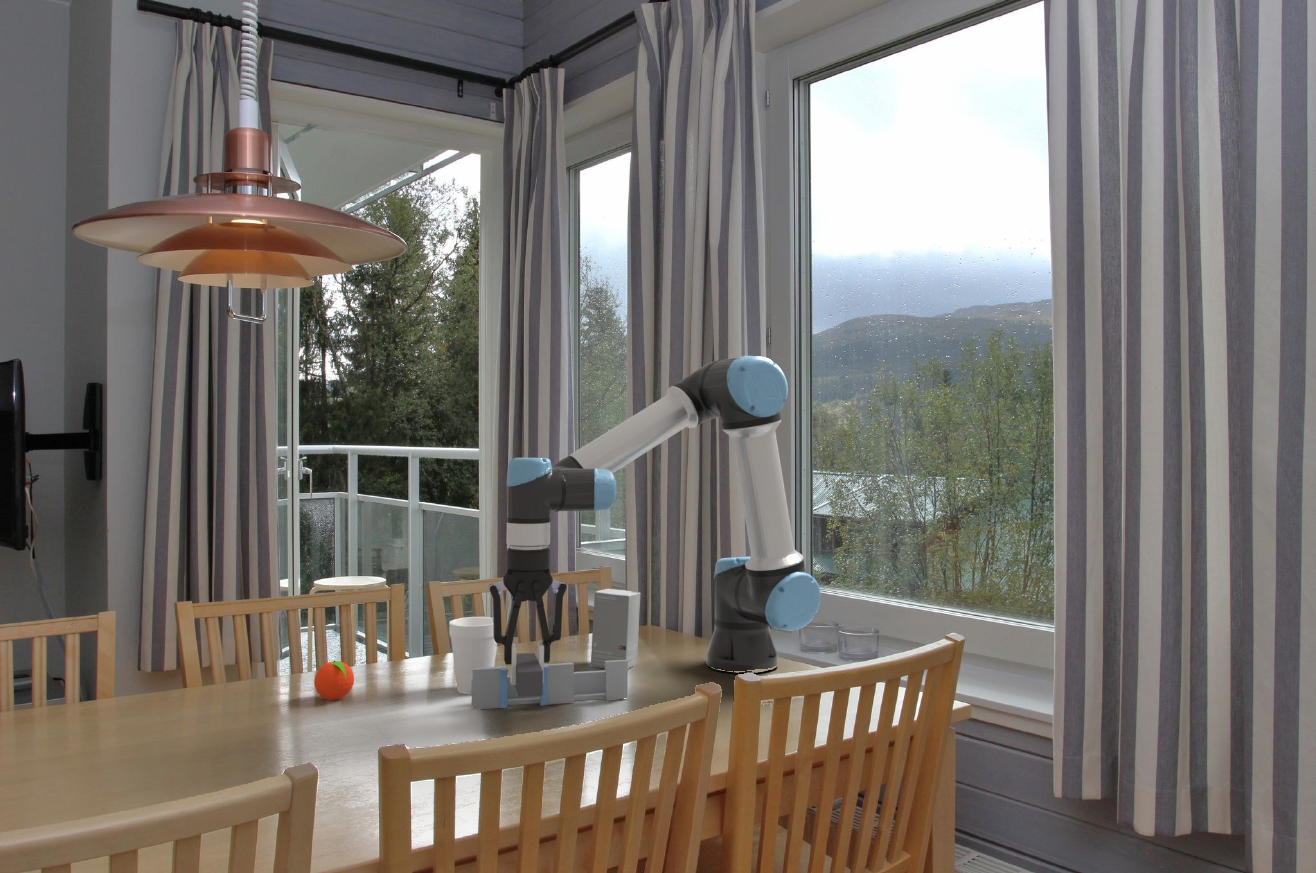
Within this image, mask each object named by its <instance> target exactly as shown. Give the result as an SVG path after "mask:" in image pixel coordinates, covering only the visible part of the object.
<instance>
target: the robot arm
mask: <svg viewBox="0 0 1316 873" xmlns="http://www.w3.org/2000/svg"><path fill="white" fill-rule="evenodd" d="M788 395H789V387H788V381H787V378H786V376H785V373H784V372H783V370H782V369H781V367H780V366H779V365H778V364H777V363H775V362H774V361H773V360H771V359H770V358H768V357H765V356H762V355H761V356H760V355H756V356H755V355H743V356H740V357H732V358H726V359H719V360H713V361H712V362H708V363H706V364H705V365H702V366H701V367H700V368H697V369H696V370H695V371H693V372H692V373H690V374H688V375H687V376H685V377H684V378H683V379H681V380H679V381H678V382H676V383H674V384H673V385H671V386H670V387H668V389H667V390H666V395H665V396H663V397H661V398H660V399H658V400H657V401H654V402H653V403H651V404H650V405H648V406H646V407H645V408H643V409H642V410H639V412H637V413H635V414H633V415H632V416H630V417H629V418H627V419H626V420H624V421H622V422H620V423H619V424H618V425H615V427H612V428H611V429H609V430H608V431H607V432H604V433H602V434H601V435H600V436H598V437H596V438H595V439H594V440H592V441H590V442H588V443H587V444H585V445H584V446H581V447H580V448H579V449H577V450H575V451H574V452H572V453H570V454H569V455H567V456H565V457H564V458H563V459H561V460H559V461H558V462H555V463H554V464H552V462H551V459H550V458H547V457H513V458H512V459H510V460H509V462H508V463H507V471H506V472H507V474H506V483H505V484H506V485H505V487H506V515H507V516H506V545H507V546H508V548H507V549H506V550H505V551H506V553H505V554H506V555H505V574H504V576H503V578H502V580H500V581H499V582H496V583H490V584H489V585H488V590H489V592H490V594H491V598H492V618H493V635H494V640H495V642H496V643H497V644H501V645H503V661H504V664H505V665H506V666H507V665H508V666H509V665H510V666H509V668H510V669H509V670H510V671H509V673H510V674H509V676H510V682H511V685H516V654H517V644H516V643H513V642H514V639H515V638H514V637H515V632H516V628H517V623H518V619H519V613H520V609H521V606H522V603H523V602H527V601H530V602H534V604H535V605H534V606H535V611H536V617H537V621H538V626H539V632H540V636H541V642H540V641H539V642H538V641H537V659H538V662H539V664H540V666H541V668H542V670H543V683H544V664H550V663H549V662H550V660H551V644H553V643H554V642H557V641H560V640H561V638H562V623H563V622H562V621H563V603H564V602H563V601H564V595H565V593H566V591H567V588H568V587H567V586H568V585H567V584H566V583H565V582H564V581H557V580H556V579H553V576H552V574H551V549H550V548H549V547H548V546H549V545H550V544H551V520H552V519H551V518H552V517H551V512H592V511H593V512H595V513H596V512H597V511H607V510H610V509H611V508H612V507H613V505H614V504H615V503H616V499H617V490H618V489H617V481H616V478H615V476H614V473H615V472H617V471H618V470H621V469H622V468H623V467H626V466H627V465H628V464H630V463H631V462H634V461H635V460H636V459H638V458H640V457H641V456H642V455H644V454H646V453H648V452H649V451H651V450H652V449H653V448H656V447H657V446H658V445H660V444H662V443H663V442H664V441H666V440H668V439H670V438H672V437H673V436H674V435H676V434H677V433H680V432H681V431H682V430H684V429H685V428H688V429H694V428H697V427H698V426H700V425H701V424H702V423H705V422H707V421H709V420H710V421H711V420H715V419H718V418H719V419H720V422H721V429H722V431H723V432H724V433H726V434H727V435H728V436H729V437H730V438H731V441H732V446H733V447H732V448H733V454H734V460H735V465H736V471H737V478H738V483H739V489H740V495H741V501H742V507H743V514H744V520H745V527H746V531H747V538H748V543H749V544H748V545H749V549H750V550H749V551H750V556H737V557H733V556H732V557H724V558H719V559H718V560H717V561H716V563H715V565H714V567H715V568H714V575H713V579H714V629H713V633H712V634H711V638H710V642H709V645H708V648H707V651H706V657H705V659H706V661H705V665H706V664H707V665H706V666H707V667H708V666H710V667H713V668H715V669H721V670H725V671H733V672H734V671H745V672H739V673H747V672H752V671H747V670H755V669H768V668H772V667H774V666H777V664H778V665H779V655H778V651H777V649H776V648H777V647H776V645H775V642H774V639H773V636H772V632H771V628H770V627H772V628H773V629H775V630H778V631H779V630H783V631H790V632H791V631H792V632H793V631H797V630H801V629H802V628H805V627H806V626H807V625H809V624H810V623H811V622H812V620H813V619H814V616H815V614H817V612H818V611H819V608H820V605H821V598H822V596H821V595H822V592H821V588H820V585H819V583H818V581H817V580H816V578H814V576H812V575H811V574H810V573H807V572H806V565H805V559H804V556H803V554H801V553H800V552H798V550H796V548H795V545H794V540H793V532H792V528H791V521H790V513H789V508H788V507H789V506H788V502H787V495H786V490H785V484H784V478H783V476H784V475H783V472H782V465H781V459H780V451H779V447H778V441H777V434H776V430H777V428H778V427H779V425H780V424H781V423H782V416H781V410H782V409H783V408H784V406H785V402H786V401H787V398H788ZM550 587H552V588H551V591H552V592H553V593H554V594H553V611H552V628H551V629H552V630H551V632H550V630H549V625H548V621H547V616H546V611H545V605H544V599H543V597H544V595H545V594H546V592H547V591H548V590H549V588H550ZM504 588H505V589H507V591H508V592H509V594H510V595H511V596H512V599H511V606H510V610H509V615H508V620H507V625H506V629H505V633H504V635H503V634H502V630H503V629H502V601H501V600H502V599H501V596H502V595H503V593H504Z"/></svg>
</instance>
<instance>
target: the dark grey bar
mask: <svg viewBox="0 0 1316 873" xmlns="http://www.w3.org/2000/svg"><path fill="white" fill-rule="evenodd" d="M515 687H516V690H517V693H518V697H520V696H538V695H543V670H542V668H541V666H540V664H539V662H538V656H537V655H536V654H535V652H527V653H524V652H523V653H516V685H515Z"/></svg>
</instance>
